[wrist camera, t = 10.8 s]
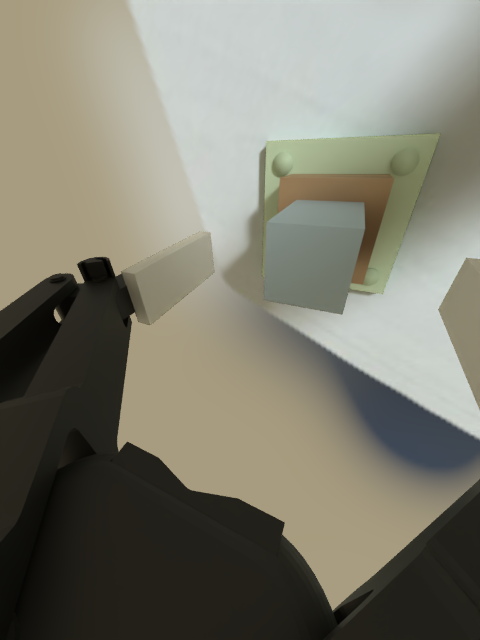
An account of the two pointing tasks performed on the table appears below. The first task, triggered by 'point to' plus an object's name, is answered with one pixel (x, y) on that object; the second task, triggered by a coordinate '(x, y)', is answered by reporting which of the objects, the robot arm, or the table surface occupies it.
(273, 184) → the plate
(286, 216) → the column brick
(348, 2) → the table surface
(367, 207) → the base brick
